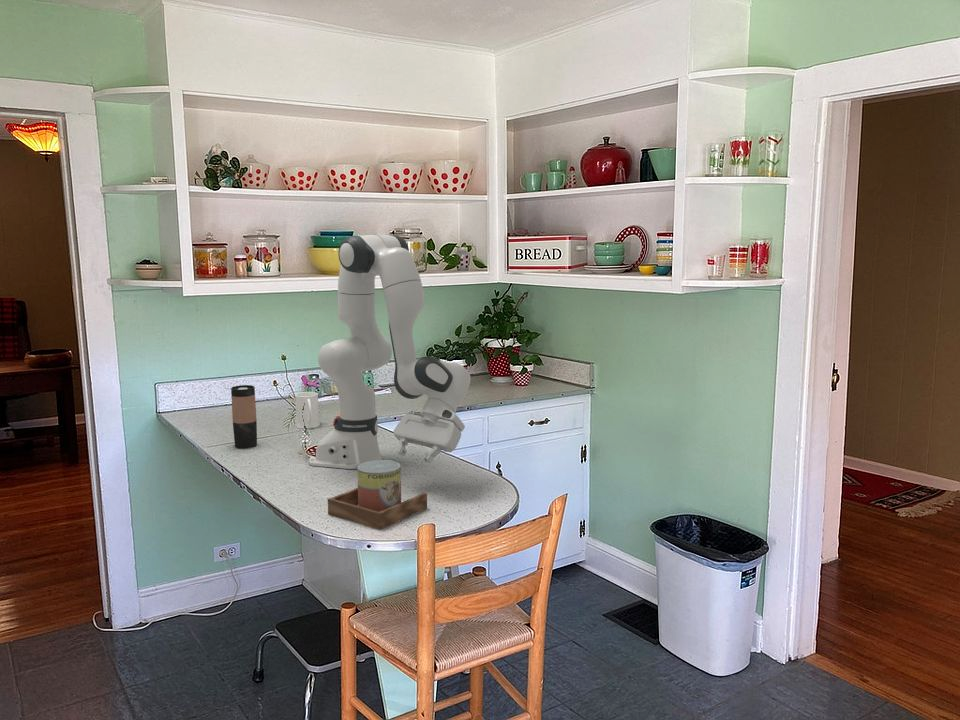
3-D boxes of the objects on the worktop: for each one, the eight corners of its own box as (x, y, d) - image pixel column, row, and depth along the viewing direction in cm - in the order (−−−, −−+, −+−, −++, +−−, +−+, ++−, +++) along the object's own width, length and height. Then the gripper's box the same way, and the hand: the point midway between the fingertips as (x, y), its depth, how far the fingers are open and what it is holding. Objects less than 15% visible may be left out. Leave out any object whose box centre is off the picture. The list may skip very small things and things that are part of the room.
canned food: (375, 521, 200) (374, 475, 198) (349, 510, 208) (348, 465, 206) (410, 510, 208) (409, 466, 206) (384, 499, 216) (383, 456, 214)
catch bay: (376, 494, 220) (376, 480, 219) (427, 508, 210) (426, 493, 209) (328, 514, 206) (327, 499, 205) (379, 529, 195) (379, 513, 195)
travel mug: (262, 443, 271) (259, 385, 268) (250, 449, 264) (246, 390, 260) (242, 442, 273) (238, 384, 270) (229, 448, 266) (226, 389, 262)
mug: (321, 430, 288) (320, 397, 286) (297, 432, 286) (295, 399, 284) (318, 422, 299) (317, 390, 297) (295, 424, 297) (293, 392, 295)
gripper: (403, 403, 228) (379, 444, 222) (460, 415, 216) (437, 458, 210) (413, 416, 232) (390, 456, 226) (469, 427, 221) (447, 470, 215)
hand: (413, 457), depth 218 cm, fingers open, 8 cm apart
